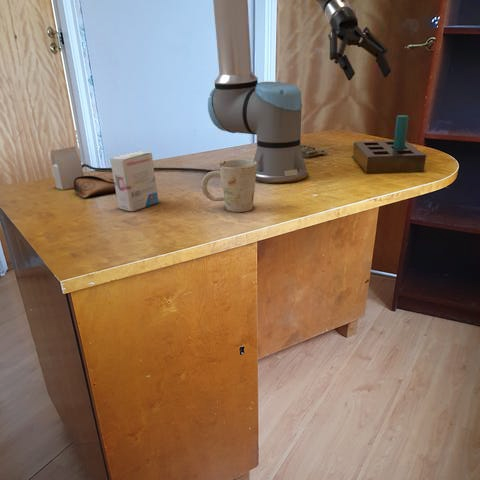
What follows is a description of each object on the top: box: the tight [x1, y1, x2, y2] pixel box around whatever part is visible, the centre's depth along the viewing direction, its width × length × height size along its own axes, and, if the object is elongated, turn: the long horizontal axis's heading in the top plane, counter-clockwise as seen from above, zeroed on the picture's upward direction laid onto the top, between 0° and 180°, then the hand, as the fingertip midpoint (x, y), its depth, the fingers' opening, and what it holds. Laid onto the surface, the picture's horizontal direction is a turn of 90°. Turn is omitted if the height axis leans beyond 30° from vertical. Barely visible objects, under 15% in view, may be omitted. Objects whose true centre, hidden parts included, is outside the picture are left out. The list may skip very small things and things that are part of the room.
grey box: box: [50, 145, 85, 191], centre depth 133 cm, size 4×7×10 cm, turn 135°
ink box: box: [109, 151, 159, 212], centre depth 114 cm, size 8×5×12 cm, turn 141°
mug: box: [200, 158, 257, 213], centre depth 110 cm, size 8×13×10 cm, turn 89°
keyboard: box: [300, 144, 326, 159], centre depth 164 cm, size 22×9×2 cm, turn 34°
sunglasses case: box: [73, 171, 116, 199], centre depth 130 cm, size 18×7×7 cm
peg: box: [393, 114, 409, 149], centre depth 142 cm, size 3×3×13 cm
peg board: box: [352, 139, 427, 174], centre depth 144 cm, size 16×22×4 cm
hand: (370, 75), depth 145 cm, fingers open, 13 cm apart
